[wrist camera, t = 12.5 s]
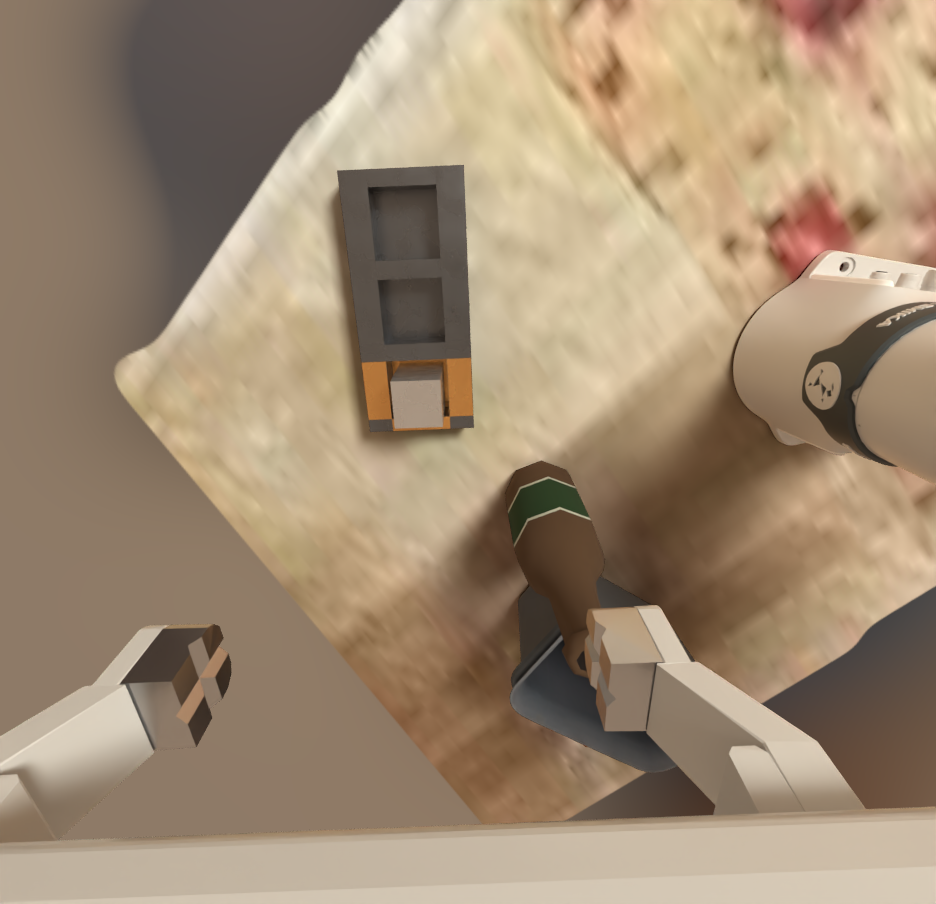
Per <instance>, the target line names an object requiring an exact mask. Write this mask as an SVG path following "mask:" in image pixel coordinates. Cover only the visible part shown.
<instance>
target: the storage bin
mask: <svg viewBox="0 0 936 904" xmlns="http://www.w3.org/2000/svg"><path fill="white" fill-rule="evenodd" d="M596 587H597V595H598V599H599V602H600V605H601V608H619V607H634V606H648V605H650V604H648V603H647V602H645V601H643V600H641V599H639V598H638V597H636V596H634V595H632V594H630V593H629V592H627V591H625V590H623V589H622V588H620V587H618V586H616V585H615V584H613V583H611V582H609V581H607V580H606V579H604V578H602V577H599V578H598V580H597V581H596ZM518 611H519V632H520V651H521V663H520V664H519V665H518V666H517V667H516V669H515V670H514V672H513V674H512V677H511V683H512V688H513V689H512V691H511V693H510V703H511V706H512V707H513V709H514V710H515V711H516V712H517V713H518V714H520V715H521V716H523V717H525V718H527V719H529V720H531V721H533V722H535V723H537V724H539V725H542V726H544V727H546V728H548V729H550V730H551V731H555V732H557V733H559V734H561V735H564V736H566V737H568V738H570V739H572V740H574V741H576V742H579V743H581V744H583V745H584V746H585V747H590V748H592V749H594V750H596V751H598V752H600V753H603V754H605V755H607V756H610V757H612V758H614V759H616V760H618V761H621V762H623V763H625V764H627V765H630V766H632V767H634V768H636V769H638V770H641V771H645V772H662V771H666V770H669V769H672V768H674V767H676V766H678V765H677V764H676V763H675V762H674V761H673V760H672V759H671V758H670V757H669V756H668V755H667V754H666V753H665V752H664V751H663V750H662V749H661V748H660V747H659V746H658V745H657V744H656V743H655V741H654V740H653V739H652V738H651V737H650V736H649V735H648V734H647V731H604V728H603V725H602V721H601V718H600V715H599V711H598V708H597V705H596V694H597V690H596V689H595V688H594V687H593V686H592V685H590V681H589V678H586V677H583V676H580V675H576V674H574V673H573V672H572V670H571V669H570V667H569V665H568V663H567V661H566V659H565V657H564V655H563V652H562V649H563V647H564V646H565V643H564V640H563V637H562V634H561V632H560V629H559V626H558V623H557V620H556V617H555V614H554V611H553V608H552V605H551V602H550V600H549V598H547V597H544V596H542V595H540V594H537V593H536V592H535V591H534V590H533V589H532V588H531V586H529V587H528V588H527V590H526V591H525V592H524V593H523V594H522V595H521V597H520V598H519V600H518ZM671 627H672V626H671ZM672 629H673V628H672ZM673 631H674V629H673ZM674 632H675V631H674ZM675 634H676V632H675ZM676 636H677V638H678V639H679V641H680V643H681V645H682V646H683V648H684V650H685V652H686V654H687V655H688V657H689V659H690V661H691V662H695V660H694V659H693V657H692V656H691V654H690V653H689V652H688V650H687V649H686V647H685V646H684V644H683V643H682V641H681V640H680V638H679V637H678V635H677V634H676Z"/></svg>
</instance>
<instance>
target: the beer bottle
mask: <svg viewBox="0 0 936 904" xmlns="http://www.w3.org/2000/svg"><path fill="white" fill-rule="evenodd" d="M505 494H506V505H507V510H508V516H509V522H510V528H511V533H512V539H513V545H514V549H515V553H516V556H517V559H518V562H519V564H520V566H521V568H522V570H523V573H524V575H525V577H526V579H527V581H528V583H529V585H530V586H531V588H532V589H533V590H534V591H535V592H536V593H537V594H540V595H542V596H544V597H547V598H549V600H550V602H551V605H552V608H553V611H554V614H555V617H556V620H557V623H558V626H559V629H560V632H561V634H562V637H563V640H564V643H565V646H564V647H563V649H562V652H563V655H564V657H565V659H566V661H567V663H568V665H569V667H570V669H571V670H572V672H573V673H574V674H576V675H580V676H583V677H586V678H588V674H587V669H586V663H585V639H586V638H587V636H588V635H589V631H588V628H587V624H586V619H587V612H588V609H598V608H601V605H600V602H599V599H598V595H597V587H596V581H597V580H598V578H599V577H600V575H601V573H602V572H603V570H604V563H605V558H604V555H603V551H602V548H601V546H600V543H599V540H598V538H597V535H596V532H595V529H594V527H593V524H592V521H591V519H590V517H589V515H588V513H587V511H586V509H585V506H584V504H583V502H582V500H581V498H580V496H579V494H578V492H577V490H576V487H575V485H574V483H573V481H572V479H571V477H570V475H569V474H568V472H567V471H566V470H565V469H562V468H560V467H557V466H554V465H552V464H549V463H546V462H544V461H540V462H537V463H534V464H532V465H529V466H527V467H524V468H521V469H519V470H516V472H515V474H514V476H513V478H512V480H511V482H510V484H509V486H508V489H507V491H506V493H505Z"/></svg>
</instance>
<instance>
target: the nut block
mask: <svg viewBox="0 0 936 904" xmlns="http://www.w3.org/2000/svg"><path fill="white" fill-rule="evenodd" d="M390 384H391V394H392V405H393V415H394V426H395V429H397V428H427V427H443V421H444V411H445V386H444V367H443V362H425V363H400V364H399V366H398V368H397V370H396V372H395V374H394V376H393V377H392V379H391V381H390Z"/></svg>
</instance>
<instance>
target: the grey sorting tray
mask: <svg viewBox="0 0 936 904" xmlns="http://www.w3.org/2000/svg"><path fill="white" fill-rule="evenodd" d="M337 174H338V182H339V189H340V197H341V205H342V213H343V221H344V229H345V237H346V245H347V252H348V260H349V268H350V276H351V284H352V292H353V300H354V308H355V316H356V323H357V331H358V339H359V347H360V355H361V363H362V371H363V379H364V386H365V394H366V402H367V410H368V418H369V426H370V432H380V431H406V430H430V429H451V428H474V420H473V394H472V368H471V342H470V316H469V290H468V264H467V238H466V212H465V186H464V165H453V166H431V167H408V168H386V169H364V170H342V171H337ZM425 362H443V367H444V386H445V411H444V421H443V427H427V428H397V429H395V426H394V415H393V405H392V394H391V384H390V381H391V379H392V377H393V376H394V374H395V372H396V370H397V368H398V366H399V364H400V363H425Z"/></svg>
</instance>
